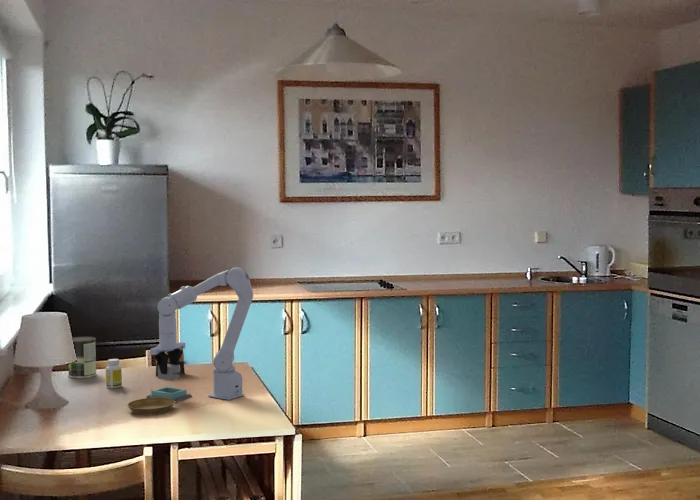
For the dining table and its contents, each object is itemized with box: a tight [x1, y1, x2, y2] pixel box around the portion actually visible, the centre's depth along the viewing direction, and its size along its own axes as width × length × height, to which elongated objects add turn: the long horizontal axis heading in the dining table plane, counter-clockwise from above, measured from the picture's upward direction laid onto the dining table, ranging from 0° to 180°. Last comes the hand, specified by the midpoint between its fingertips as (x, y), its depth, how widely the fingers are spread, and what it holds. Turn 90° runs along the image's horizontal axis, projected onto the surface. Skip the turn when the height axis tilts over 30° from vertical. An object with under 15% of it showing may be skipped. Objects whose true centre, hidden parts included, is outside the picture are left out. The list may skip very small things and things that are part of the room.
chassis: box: [146, 386, 193, 402], centre depth 290 cm, size 12×9×2 cm
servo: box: [157, 364, 183, 382], centre depth 289 cm, size 11×4×5 cm, turn 57°
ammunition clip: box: [155, 344, 186, 377], centre depth 325 cm, size 11×2×12 cm, turn 107°
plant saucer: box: [127, 397, 176, 416], centre depth 273 cm, size 15×15×3 cm
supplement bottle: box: [105, 358, 123, 389], centre depth 305 cm, size 5×5×10 cm
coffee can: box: [67, 336, 97, 379], centre depth 324 cm, size 10×10×14 cm
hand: (168, 372), depth 289 cm, fingers closed on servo, 4 cm apart
